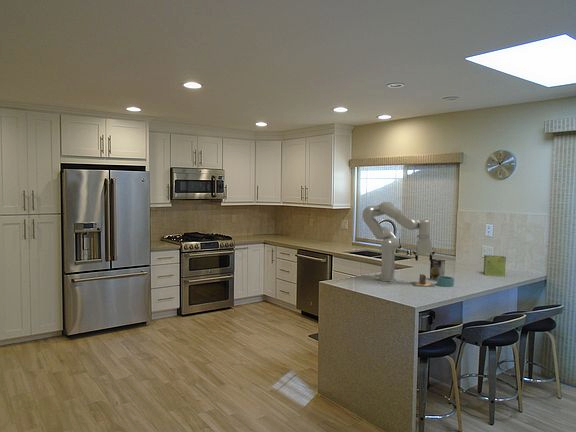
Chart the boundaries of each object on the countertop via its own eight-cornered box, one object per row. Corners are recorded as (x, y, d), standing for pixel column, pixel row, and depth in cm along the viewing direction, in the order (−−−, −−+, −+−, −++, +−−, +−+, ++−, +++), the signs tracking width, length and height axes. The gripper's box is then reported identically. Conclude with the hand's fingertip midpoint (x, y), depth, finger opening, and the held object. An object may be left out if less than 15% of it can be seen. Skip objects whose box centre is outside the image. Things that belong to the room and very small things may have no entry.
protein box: (505, 276, 353) (506, 257, 352) (484, 275, 358) (485, 256, 357) (503, 274, 362) (504, 256, 362) (483, 273, 367) (484, 254, 367)
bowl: (439, 287, 309) (439, 278, 308) (435, 284, 320) (435, 275, 319) (455, 287, 308) (455, 279, 307) (450, 284, 319) (451, 276, 318)
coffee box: (429, 280, 334) (430, 259, 333) (433, 279, 338) (434, 258, 337) (440, 282, 327) (440, 260, 326) (444, 281, 331) (445, 260, 330)
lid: (415, 286, 309) (415, 276, 309) (411, 282, 322) (411, 273, 322) (433, 286, 308) (434, 277, 308) (429, 282, 321) (429, 273, 321)
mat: (414, 287, 308) (414, 286, 308) (409, 282, 323) (409, 281, 323) (435, 287, 307) (435, 287, 307) (430, 283, 322) (430, 282, 322)
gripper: (413, 237, 310) (412, 261, 311) (437, 237, 309) (437, 261, 310) (410, 236, 318) (410, 259, 318) (435, 236, 316) (434, 260, 317)
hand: (423, 260), depth 314 cm, fingers open, 9 cm apart
